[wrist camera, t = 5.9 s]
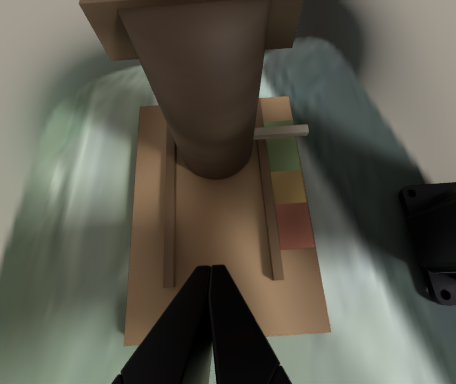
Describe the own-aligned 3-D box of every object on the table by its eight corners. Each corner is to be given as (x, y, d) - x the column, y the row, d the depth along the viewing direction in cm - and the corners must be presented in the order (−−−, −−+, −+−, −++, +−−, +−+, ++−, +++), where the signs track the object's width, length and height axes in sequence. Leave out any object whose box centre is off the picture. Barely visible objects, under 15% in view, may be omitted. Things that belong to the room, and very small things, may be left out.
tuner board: (285, 106, 17) (290, 89, 16) (324, 328, 13) (335, 334, 11) (145, 116, 18) (136, 100, 16) (131, 341, 13) (118, 349, 11)
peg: (296, 110, 16) (366, -83, 7) (308, 173, 14) (412, 20, 6) (168, 119, 16) (92, -62, 7) (167, 182, 14) (70, 46, 6)
